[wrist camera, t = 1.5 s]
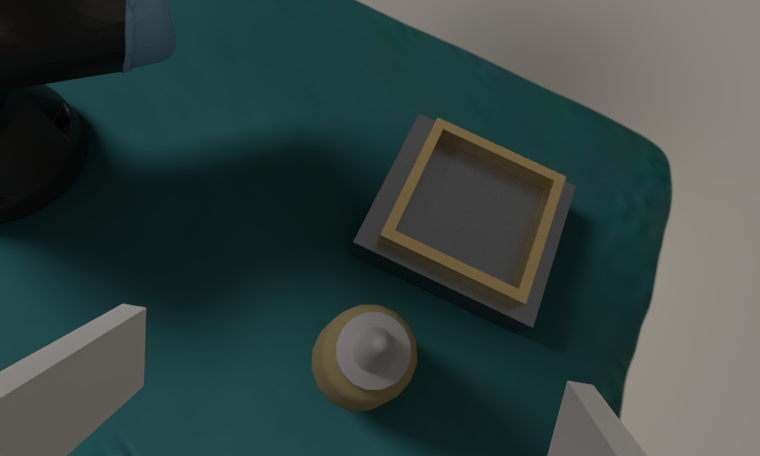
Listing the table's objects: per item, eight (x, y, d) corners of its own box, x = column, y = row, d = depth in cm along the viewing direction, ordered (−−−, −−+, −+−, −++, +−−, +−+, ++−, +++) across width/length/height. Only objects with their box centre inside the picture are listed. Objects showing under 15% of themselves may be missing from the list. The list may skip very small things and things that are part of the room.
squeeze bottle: (416, 373, 39) (487, 366, 22) (343, 428, 37) (360, 467, 20) (368, 301, 41) (400, 243, 24) (295, 349, 38) (274, 322, 22)
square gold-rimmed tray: (350, 254, 42) (354, 234, 37) (411, 134, 48) (423, 101, 42) (514, 332, 41) (544, 324, 36) (556, 201, 47) (587, 177, 42)
